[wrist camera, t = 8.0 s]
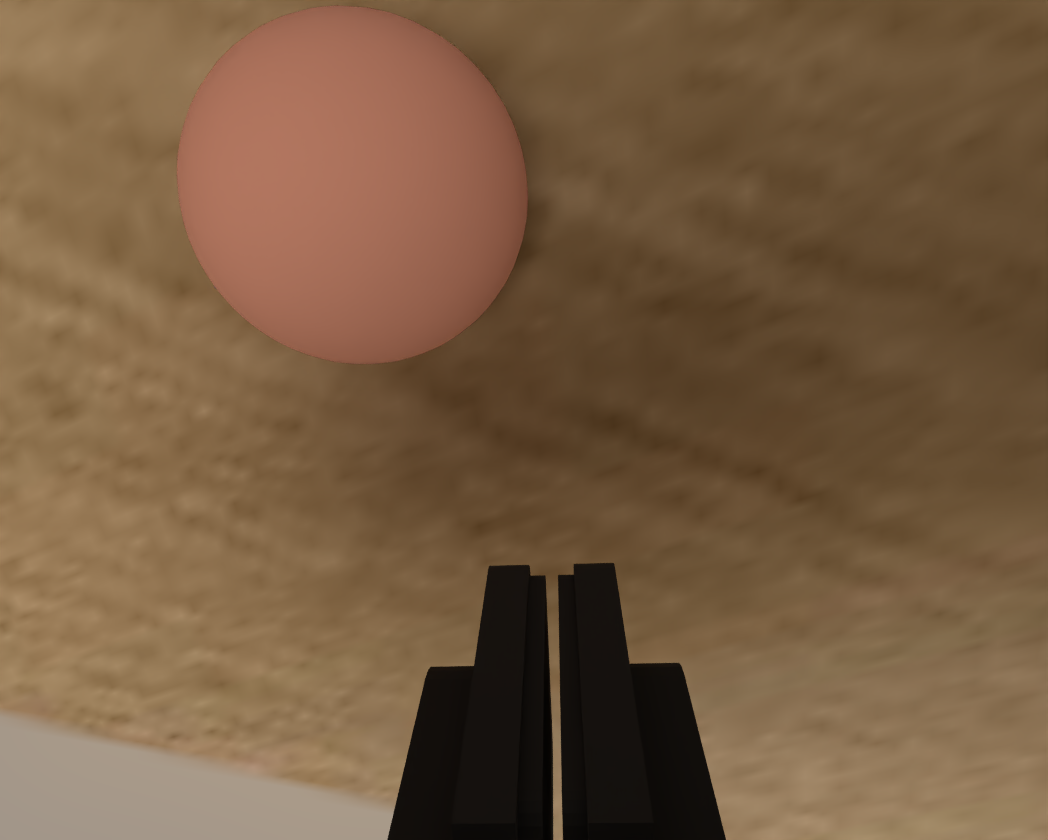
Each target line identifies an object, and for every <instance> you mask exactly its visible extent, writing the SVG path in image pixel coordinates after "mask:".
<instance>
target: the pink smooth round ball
mask: <svg viewBox="0 0 1048 840" xmlns="http://www.w3.org/2000/svg"><path fill="white" fill-rule="evenodd" d="M177 183H178V194H179V202H180V207H181V212H182V217H183V221H184V225H185V228H186V231H187V234H188V237H189V240H190V243H191V245H192V247H193V250H194V252H195V254H196V256H197V258H198V260H199V262H200V264H201V266H202V267H203V269H204V271H205V272H206V274H207V276H208V277H209V279H210V280H211V282H212V283H213V284H214V286H215V287H216V289H217V290H218V291H219V293H220V294H221V295H222V296H223V297H224V298H225V299H226V301H227V302H228V303H229V304H230V305H231V306H232V307H233V308H234V309H235V310H236V311H237V312H238V313H239V314H240V315H241V316H242V317H243V318H244V319H246V320H247V321H248V322H249V323H251V324H252V325H253V326H255V327H256V328H257V329H258V330H260V331H261V332H263V333H264V334H266V335H268V336H269V337H271V338H272V339H274V340H276V341H277V342H279V343H281V344H283V345H285V346H288V347H290V348H292V349H294V350H297V351H299V352H302V353H305V354H308V355H311V356H314V357H317V358H321V359H325V360H329V361H333V362H341V363H349V364H378V363H386V362H394V361H399V360H403V359H407V358H411V357H414V356H417V355H420V354H422V353H425V352H427V351H430V350H432V349H434V348H437V347H439V346H441V345H443V344H444V343H446V342H448V341H449V340H451V339H453V338H454V337H456V336H457V335H458V334H460V333H461V332H462V331H464V330H465V329H466V328H467V327H469V326H470V325H471V324H472V323H474V322H475V321H476V320H477V319H478V318H479V317H480V316H481V315H482V314H483V313H484V311H485V310H486V309H487V308H488V307H489V306H490V305H491V303H492V302H493V301H494V299H495V298H496V296H497V295H498V293H499V292H500V291H501V289H502V288H503V286H504V285H505V283H506V281H507V279H508V277H509V275H510V273H511V271H512V269H513V267H514V265H515V262H516V259H517V256H518V253H519V250H520V246H521V243H522V240H523V237H524V231H525V226H526V220H527V206H528V190H527V177H526V168H525V163H524V158H523V153H522V148H521V145H520V142H519V139H518V136H517V133H516V130H515V127H514V124H513V122H512V120H511V118H510V116H509V114H508V112H507V110H506V108H505V106H504V104H503V102H502V101H501V99H500V98H499V96H498V94H497V93H496V91H495V90H494V88H493V87H492V85H491V84H490V82H489V81H488V80H487V79H486V78H485V76H484V75H483V74H482V73H481V71H480V70H479V69H478V68H477V67H476V66H475V65H474V64H473V63H472V62H471V61H470V60H469V59H468V58H467V57H466V56H465V55H464V54H463V53H462V52H461V51H460V50H459V49H457V48H456V47H454V46H453V45H452V44H450V43H449V42H448V41H446V40H445V39H443V38H442V37H441V36H439V35H438V34H436V33H434V32H432V31H430V30H429V29H427V28H425V27H423V26H421V25H419V24H418V23H416V22H414V21H412V20H409V19H406V18H404V17H401V16H398V15H396V14H393V13H390V12H385V11H381V10H376V9H372V8H366V7H350V6H325V7H315V8H310V9H306V10H302V11H298V12H295V13H291V14H288V15H285V16H281V17H279V18H277V19H275V20H272V21H270V22H268V23H266V24H264V25H262V26H260V27H258V28H257V29H255V30H254V31H252V32H251V33H250V34H248V35H247V36H245V37H244V38H242V39H241V40H240V41H238V42H237V43H236V44H234V45H233V46H232V47H231V48H230V49H229V50H228V51H227V52H226V53H225V54H224V55H223V56H222V57H221V58H220V59H219V60H218V61H217V62H216V64H215V65H214V67H213V68H212V69H211V71H210V72H209V74H208V75H207V76H206V78H205V79H204V81H203V82H202V84H201V85H200V87H199V89H198V91H197V93H196V95H195V97H194V99H193V101H192V103H191V105H190V107H189V110H188V113H187V116H186V119H185V123H184V126H183V130H182V134H181V139H180V145H179V151H178V159H177Z"/></svg>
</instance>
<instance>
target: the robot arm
mask: <svg viewBox="0 0 1048 840" xmlns="http://www.w3.org/2000/svg"><path fill="white" fill-rule="evenodd" d="M558 593H559V651H560V708H561V765H562V815H563V840H726V838H725V834H724V830H723V826H722V822H721V818H720V814H719V810H718V806H717V802H716V798H715V794H714V791H713V787H712V783H711V779H710V775H709V771H708V767H707V763H706V759H705V755H704V751H703V747H702V743H701V739H700V735H699V731H698V727H697V723H696V719H695V715H694V711H693V707H692V703H691V699H690V695H689V692H688V688H687V684H686V680H685V676H684V672H683V669H682V666H681V665H680V664H679V663H646V664H629V657H628V651H627V644H626V637H625V631H624V624H623V618H622V611H621V605H620V598H619V591H618V585H617V578H616V572H615V566H614V563H596V564H574V575H558ZM388 840H553V741H552V715H551V692H550V668H549V645H548V621H547V598H546V577H545V575H544V576H530V566H529V565H506V566H489V569H488V575H487V582H486V589H485V596H484V602H483V609H482V616H481V623H480V630H479V636H478V643H477V650H476V657H475V664H474V666H455V667H430V669H429V670H428V672H427V675H426V678H425V682H424V687H423V691H422V695H421V699H420V704H419V708H418V712H417V716H416V721H415V725H414V729H413V733H412V738H411V742H410V746H409V750H408V755H407V759H406V763H405V767H404V772H403V776H402V780H401V784H400V789H399V793H398V797H397V801H396V806H395V810H394V814H393V819H392V823H391V827H390V831H389V835H388Z"/></svg>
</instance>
